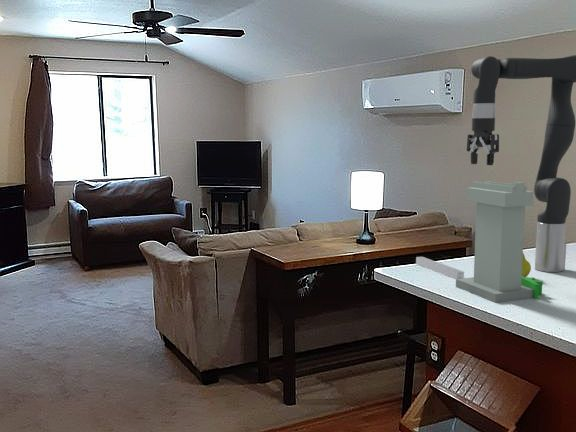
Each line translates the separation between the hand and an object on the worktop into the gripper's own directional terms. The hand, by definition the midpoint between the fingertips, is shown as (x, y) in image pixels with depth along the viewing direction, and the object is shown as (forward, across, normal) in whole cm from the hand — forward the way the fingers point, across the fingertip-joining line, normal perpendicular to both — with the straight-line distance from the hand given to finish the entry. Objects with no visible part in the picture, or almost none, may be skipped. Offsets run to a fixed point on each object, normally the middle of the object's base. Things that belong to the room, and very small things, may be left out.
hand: (481, 164), depth 202 cm
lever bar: (+38, +6, +12) cm, 40 cm away
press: (+38, -23, +12) cm, 46 cm away
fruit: (+38, -12, -8) cm, 41 cm away
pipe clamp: (+38, -29, +2) cm, 48 cm away
